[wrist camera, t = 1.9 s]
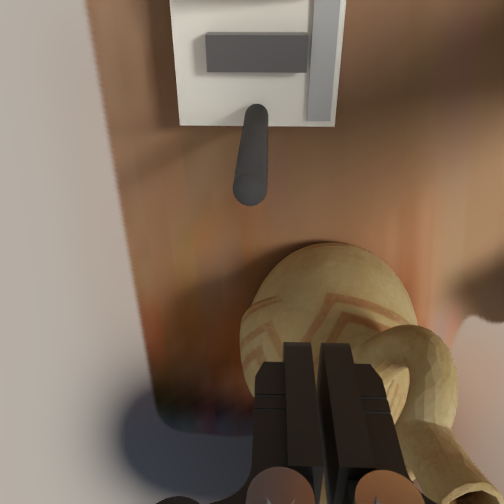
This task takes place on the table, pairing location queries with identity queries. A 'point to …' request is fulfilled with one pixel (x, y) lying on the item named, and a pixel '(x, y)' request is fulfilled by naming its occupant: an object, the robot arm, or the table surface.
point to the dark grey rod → (252, 157)
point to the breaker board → (257, 60)
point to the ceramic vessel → (370, 355)
